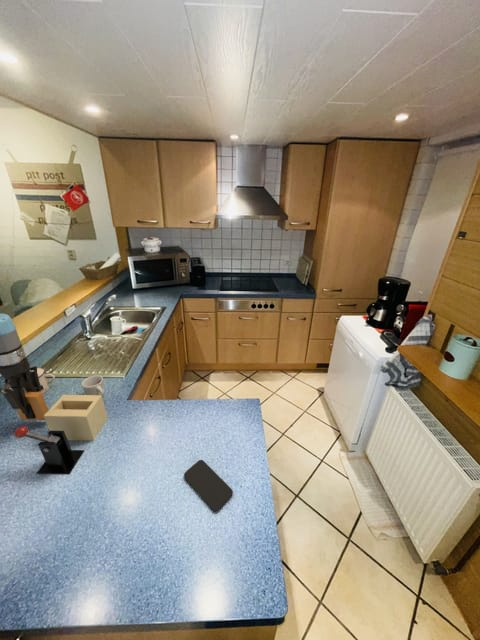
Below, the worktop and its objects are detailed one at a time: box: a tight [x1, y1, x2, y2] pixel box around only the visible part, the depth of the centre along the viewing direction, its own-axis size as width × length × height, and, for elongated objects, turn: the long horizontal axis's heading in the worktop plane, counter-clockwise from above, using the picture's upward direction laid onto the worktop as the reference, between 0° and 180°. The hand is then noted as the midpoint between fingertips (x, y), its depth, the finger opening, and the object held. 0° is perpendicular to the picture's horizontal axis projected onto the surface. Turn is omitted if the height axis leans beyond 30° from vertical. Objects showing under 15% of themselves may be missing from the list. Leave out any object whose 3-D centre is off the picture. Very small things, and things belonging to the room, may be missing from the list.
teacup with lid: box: [24, 367, 56, 395], centre depth 108 cm, size 12×9×12 cm
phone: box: [183, 459, 234, 513], centre depth 74 cm, size 7×1×15 cm
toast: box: [15, 392, 49, 422], centre depth 89 cm, size 9×2×11 cm, turn 90°
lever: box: [13, 425, 61, 445], centre depth 74 cm, size 12×3×3 cm, turn 91°
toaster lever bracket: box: [35, 430, 85, 475], centre depth 77 cm, size 10×8×12 cm
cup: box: [81, 374, 106, 398], centre depth 105 cm, size 11×8×8 cm
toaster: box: [44, 394, 109, 441], centre depth 89 cm, size 14×10×12 cm
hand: (34, 414), depth 91 cm, fingers closed on toast, 2 cm apart
